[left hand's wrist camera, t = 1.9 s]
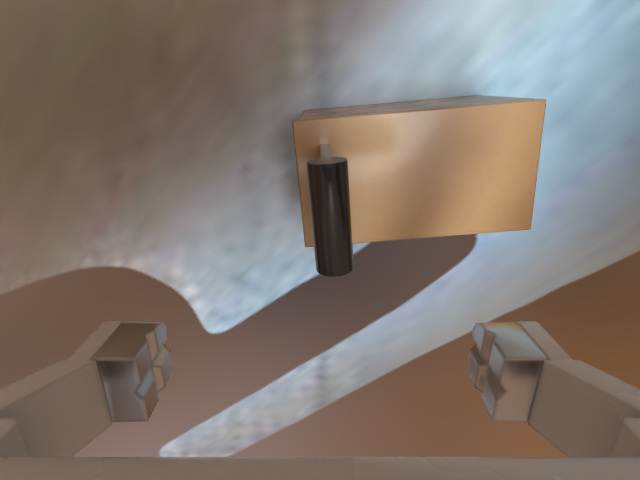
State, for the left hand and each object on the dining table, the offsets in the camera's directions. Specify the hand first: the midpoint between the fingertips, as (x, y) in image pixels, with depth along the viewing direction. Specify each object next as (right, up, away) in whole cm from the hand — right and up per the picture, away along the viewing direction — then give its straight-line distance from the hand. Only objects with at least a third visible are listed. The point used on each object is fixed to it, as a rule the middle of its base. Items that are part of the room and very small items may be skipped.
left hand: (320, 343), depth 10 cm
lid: (+7, +8, +19) cm, 21 cm away
